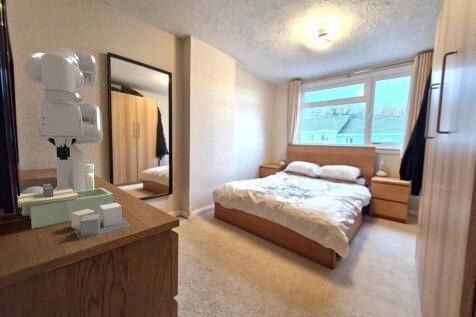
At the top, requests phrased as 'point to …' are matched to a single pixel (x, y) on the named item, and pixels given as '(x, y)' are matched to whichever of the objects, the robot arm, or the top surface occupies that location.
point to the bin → (68, 207)
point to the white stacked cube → (110, 214)
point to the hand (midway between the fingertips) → (63, 159)
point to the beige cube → (79, 217)
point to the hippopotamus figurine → (31, 190)
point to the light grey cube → (90, 225)
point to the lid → (46, 196)
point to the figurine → (89, 176)
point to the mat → (104, 229)
